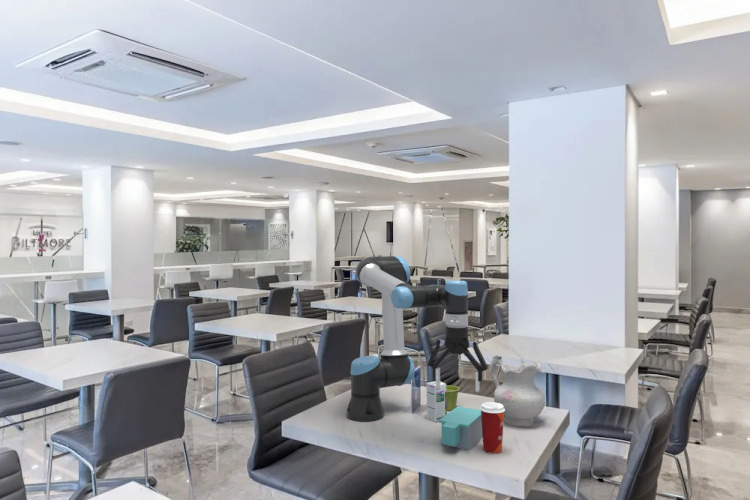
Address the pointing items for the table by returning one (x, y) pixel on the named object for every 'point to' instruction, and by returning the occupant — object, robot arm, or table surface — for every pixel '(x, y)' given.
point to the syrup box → (436, 401)
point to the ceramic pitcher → (518, 392)
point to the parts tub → (469, 435)
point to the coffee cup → (492, 426)
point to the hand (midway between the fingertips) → (457, 389)
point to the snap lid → (457, 423)
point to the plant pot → (451, 396)
